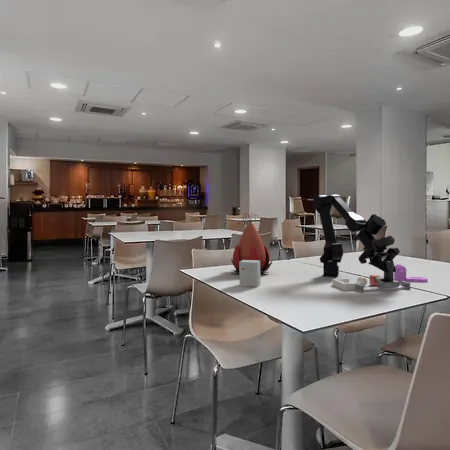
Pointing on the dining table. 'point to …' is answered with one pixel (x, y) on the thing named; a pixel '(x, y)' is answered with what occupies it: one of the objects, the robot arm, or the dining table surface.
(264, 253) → the decorative flower
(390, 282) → the post on base plate
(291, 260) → the dining table surface
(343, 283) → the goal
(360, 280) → the ball
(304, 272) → the dining table surface
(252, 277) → the small box
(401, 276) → the bracket
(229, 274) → the dining table surface
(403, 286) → the rail
